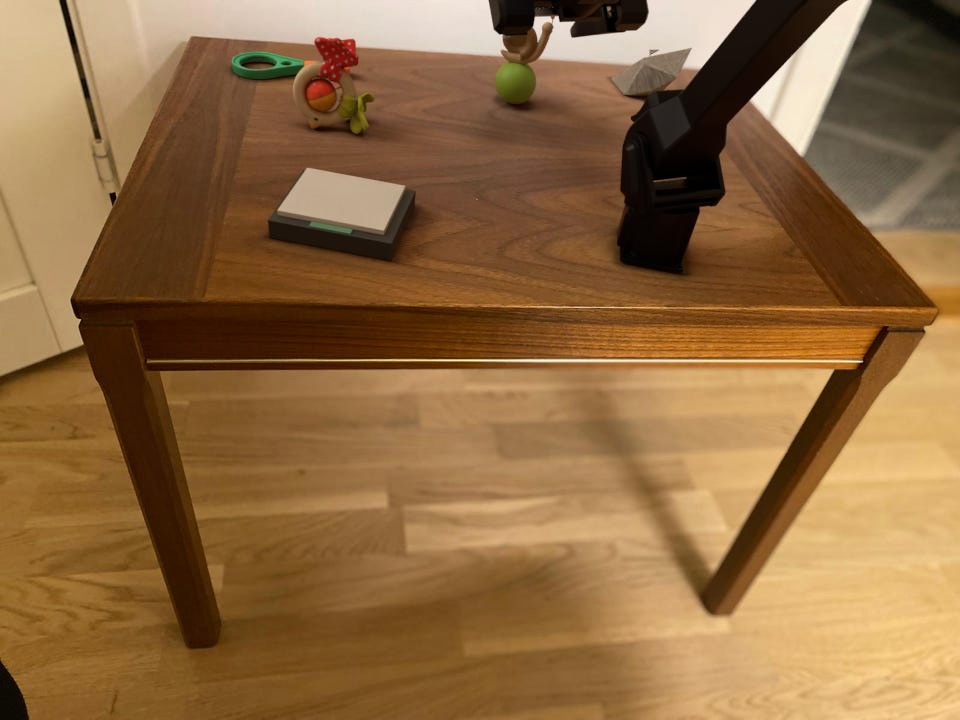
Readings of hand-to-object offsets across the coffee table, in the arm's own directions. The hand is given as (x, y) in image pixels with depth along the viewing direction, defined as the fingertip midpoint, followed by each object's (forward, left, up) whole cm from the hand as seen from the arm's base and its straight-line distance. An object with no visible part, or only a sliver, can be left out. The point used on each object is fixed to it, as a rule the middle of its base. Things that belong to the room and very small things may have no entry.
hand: (538, 34), depth 91 cm
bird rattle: (+22, +13, -10) cm, 27 cm away
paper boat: (-16, -15, -10) cm, 24 cm away
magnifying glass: (+32, 0, -10) cm, 33 cm away
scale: (+15, +32, -10) cm, 37 cm away
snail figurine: (+2, -3, -10) cm, 11 cm away
